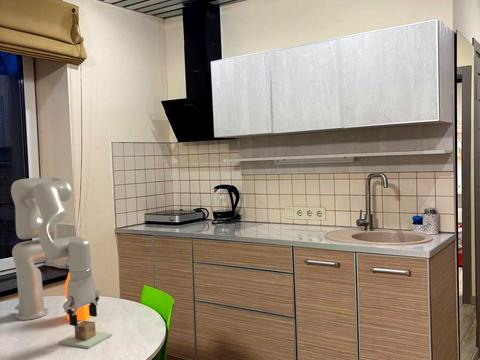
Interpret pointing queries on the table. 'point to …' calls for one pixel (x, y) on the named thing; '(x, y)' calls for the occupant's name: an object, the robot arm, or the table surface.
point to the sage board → (85, 344)
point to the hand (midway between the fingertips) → (83, 320)
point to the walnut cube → (85, 330)
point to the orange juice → (81, 312)
